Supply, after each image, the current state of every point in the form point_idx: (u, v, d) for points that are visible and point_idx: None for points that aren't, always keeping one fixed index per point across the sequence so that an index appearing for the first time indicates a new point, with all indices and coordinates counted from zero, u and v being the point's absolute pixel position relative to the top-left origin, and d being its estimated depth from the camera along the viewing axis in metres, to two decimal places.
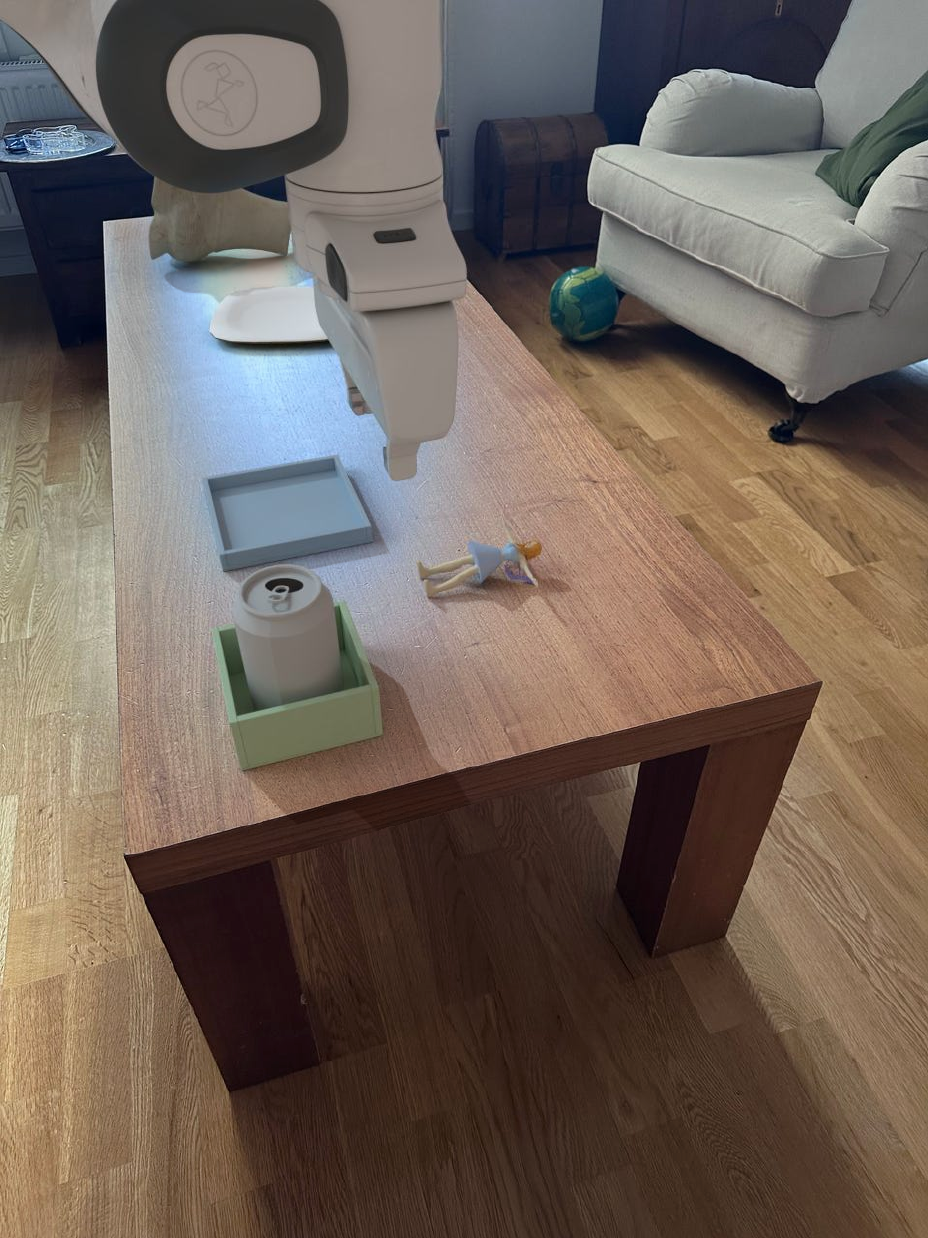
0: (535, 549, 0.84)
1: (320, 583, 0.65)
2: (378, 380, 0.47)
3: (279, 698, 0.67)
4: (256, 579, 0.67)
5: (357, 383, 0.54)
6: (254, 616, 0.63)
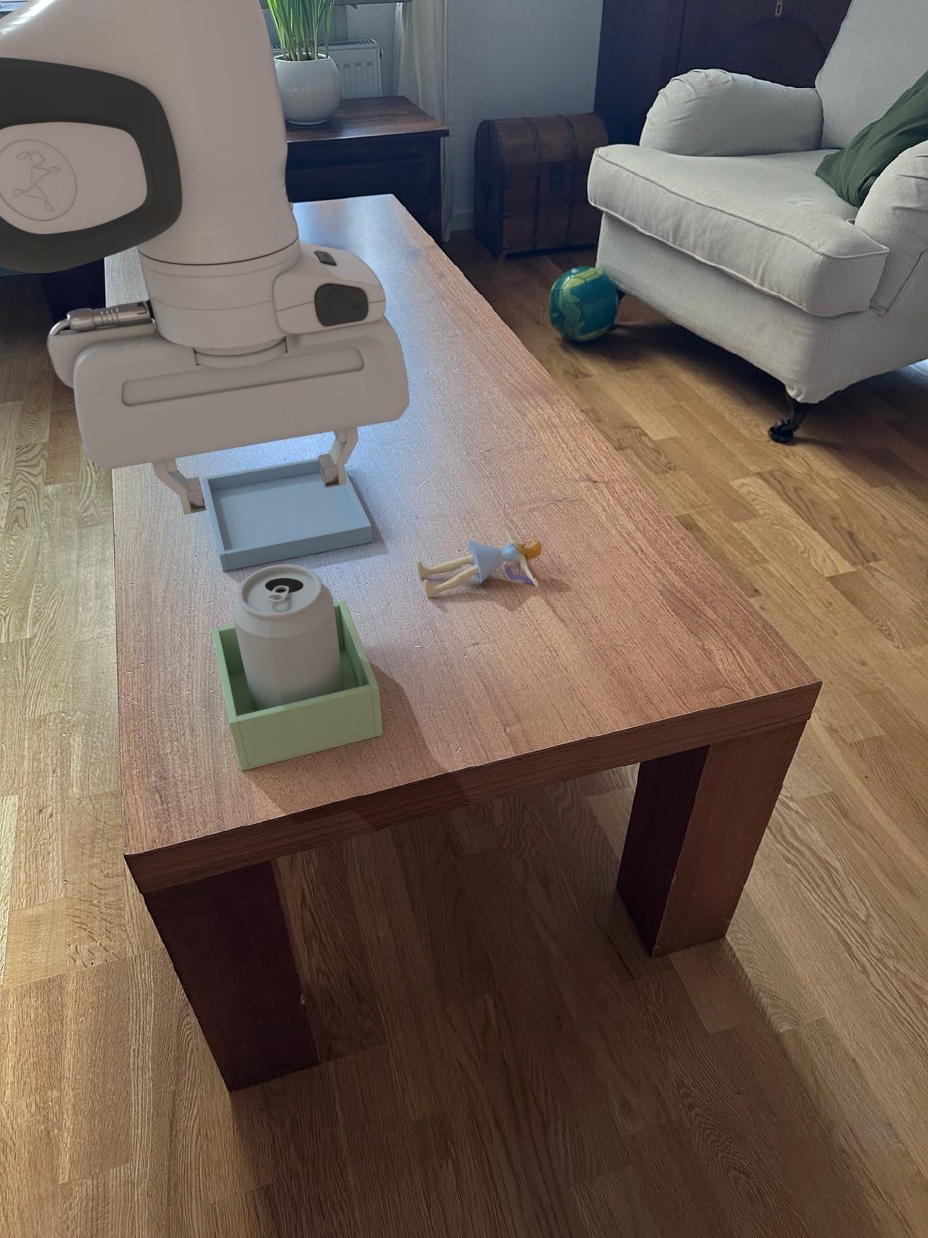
0: (535, 549, 0.84)
1: (320, 583, 0.65)
2: (398, 365, 0.55)
3: (279, 698, 0.67)
4: (256, 579, 0.67)
5: (293, 429, 0.56)
6: (254, 616, 0.63)
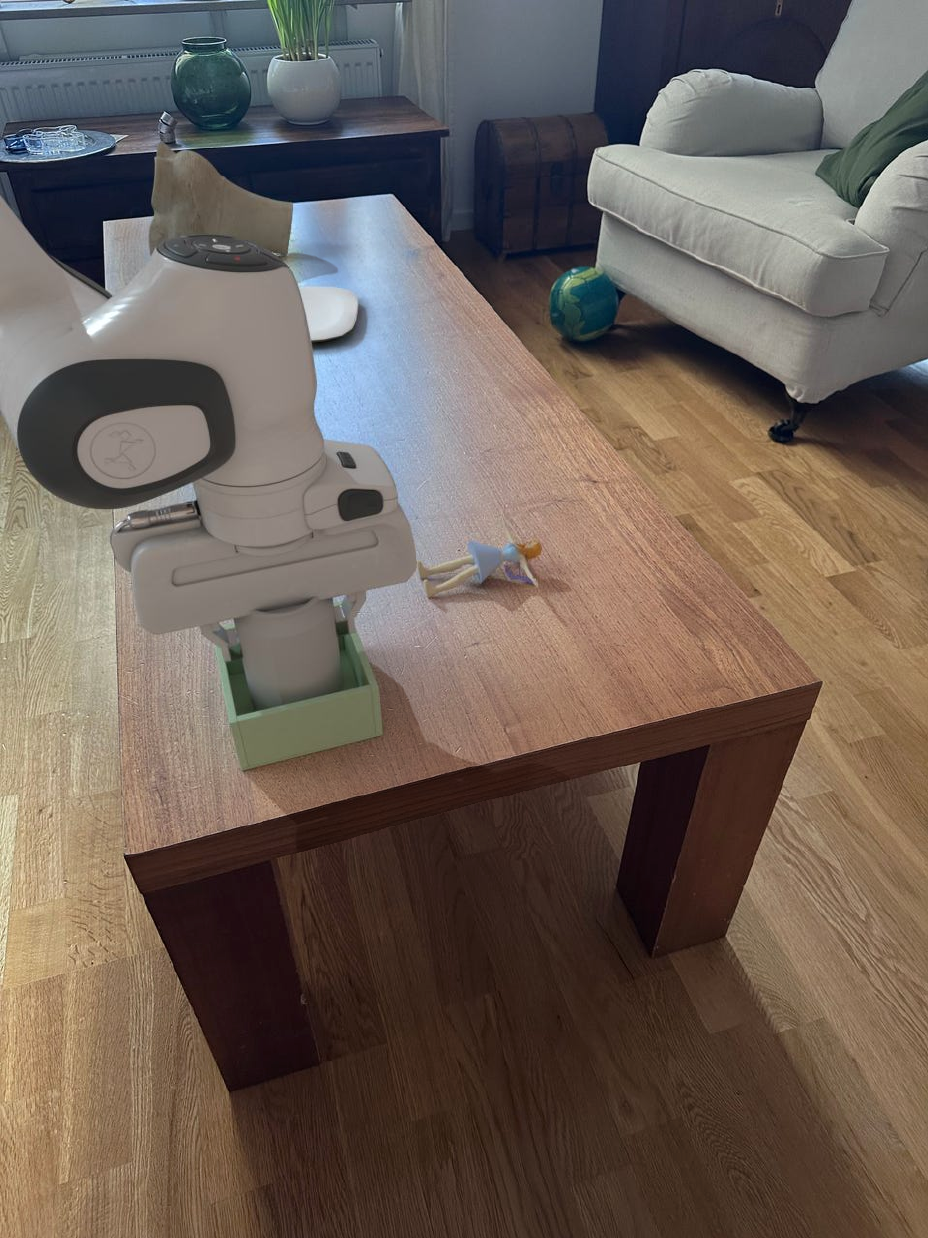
0: (535, 549, 0.84)
1: None
2: (408, 542, 0.63)
3: (279, 698, 0.67)
4: None
5: (317, 595, 0.64)
6: (254, 616, 0.63)
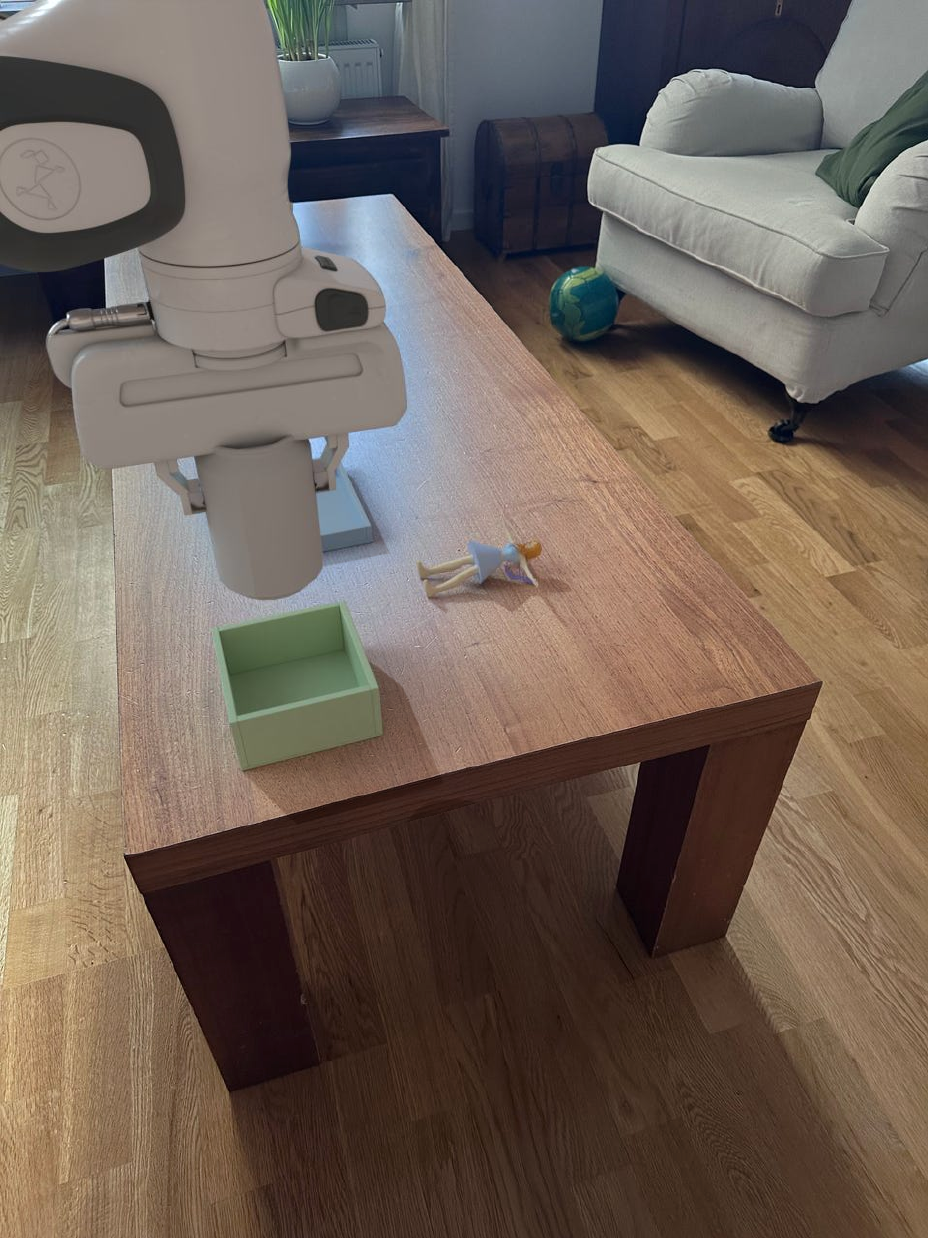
0: (535, 550, 0.84)
1: None
2: (397, 371, 0.55)
3: (247, 558, 0.58)
4: None
5: (291, 432, 0.56)
6: (218, 454, 0.55)
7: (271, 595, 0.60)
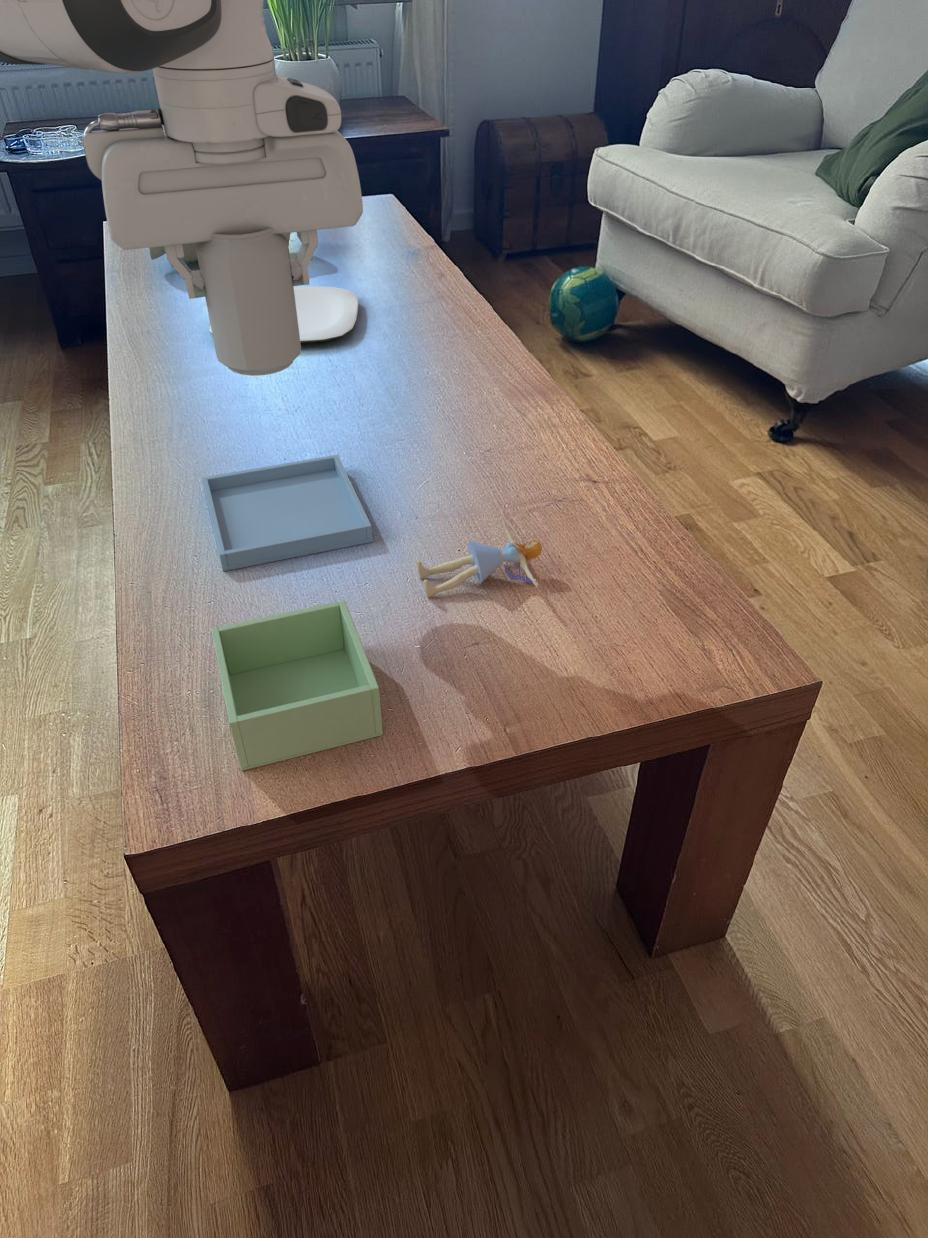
0: (535, 549, 0.84)
1: None
2: (353, 174, 0.70)
3: (239, 333, 0.74)
4: None
5: (271, 225, 0.71)
6: (215, 240, 0.70)
7: (258, 368, 0.76)
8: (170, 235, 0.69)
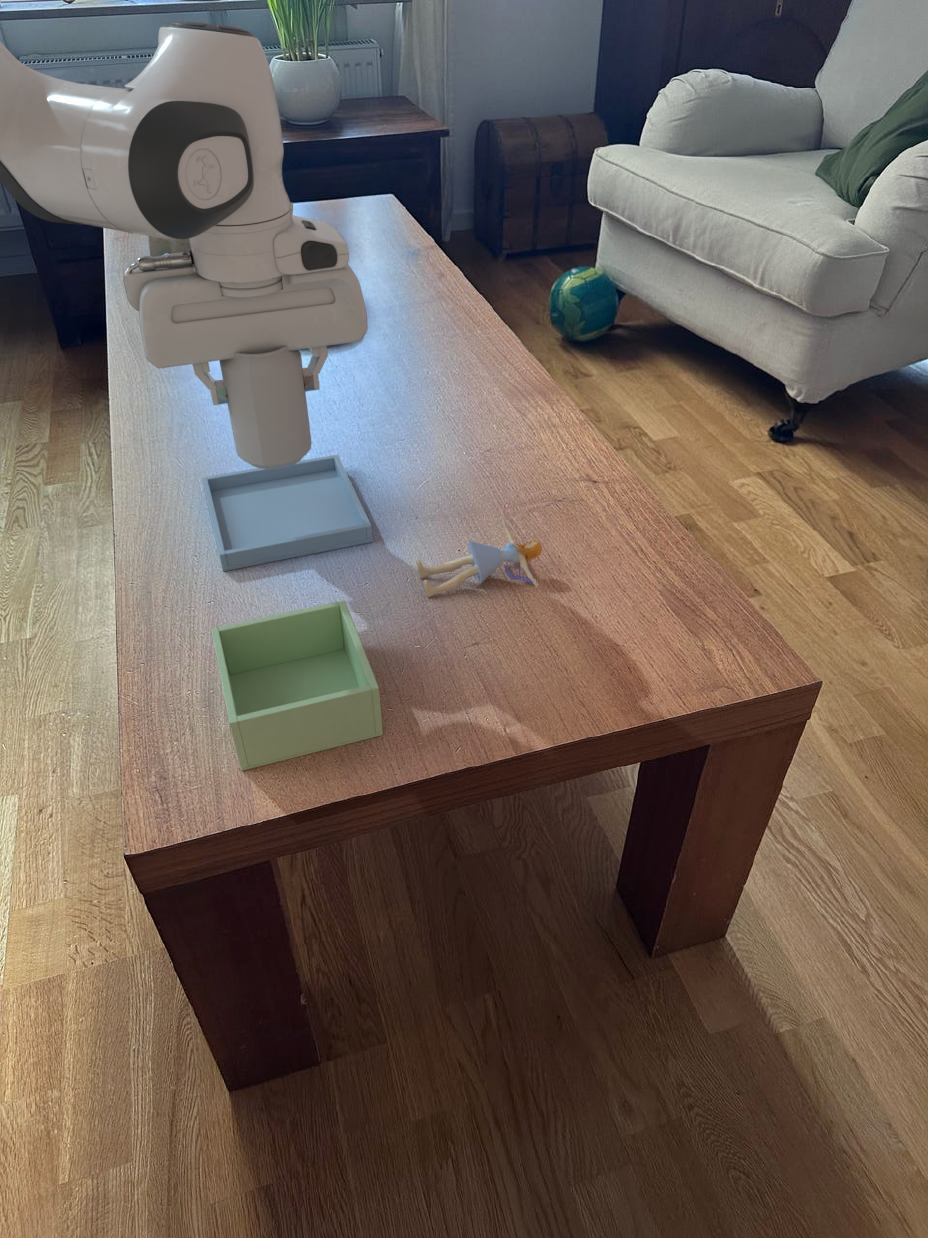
0: (535, 550, 0.84)
1: None
2: (359, 300, 0.80)
3: (257, 435, 0.84)
4: None
5: (286, 344, 0.81)
6: (237, 358, 0.80)
7: (274, 464, 0.86)
8: (198, 355, 0.79)
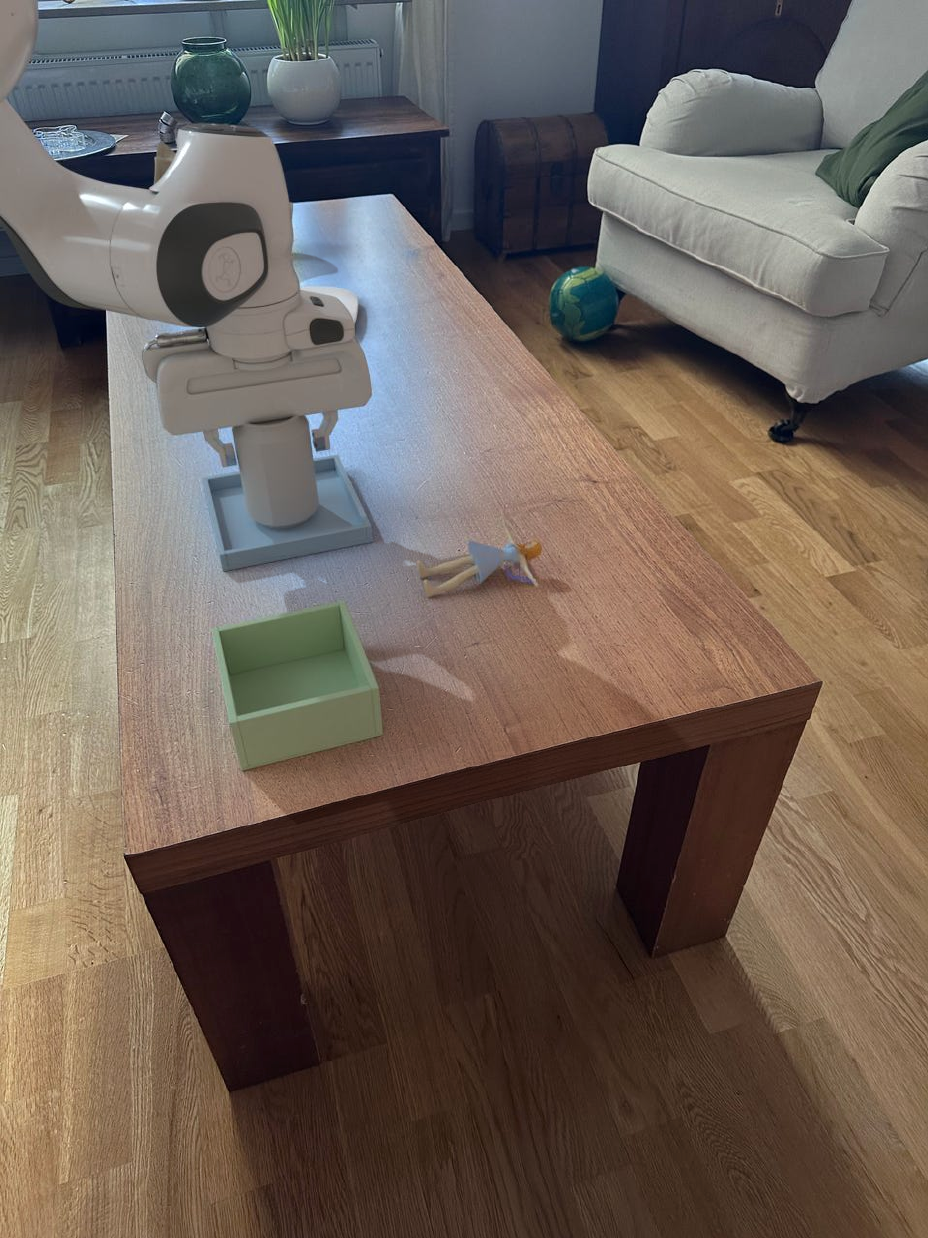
0: (535, 550, 0.84)
1: None
2: (364, 369, 0.84)
3: (267, 499, 0.88)
4: None
5: (295, 410, 0.85)
6: (248, 428, 0.84)
7: (283, 524, 0.90)
8: (212, 423, 0.83)
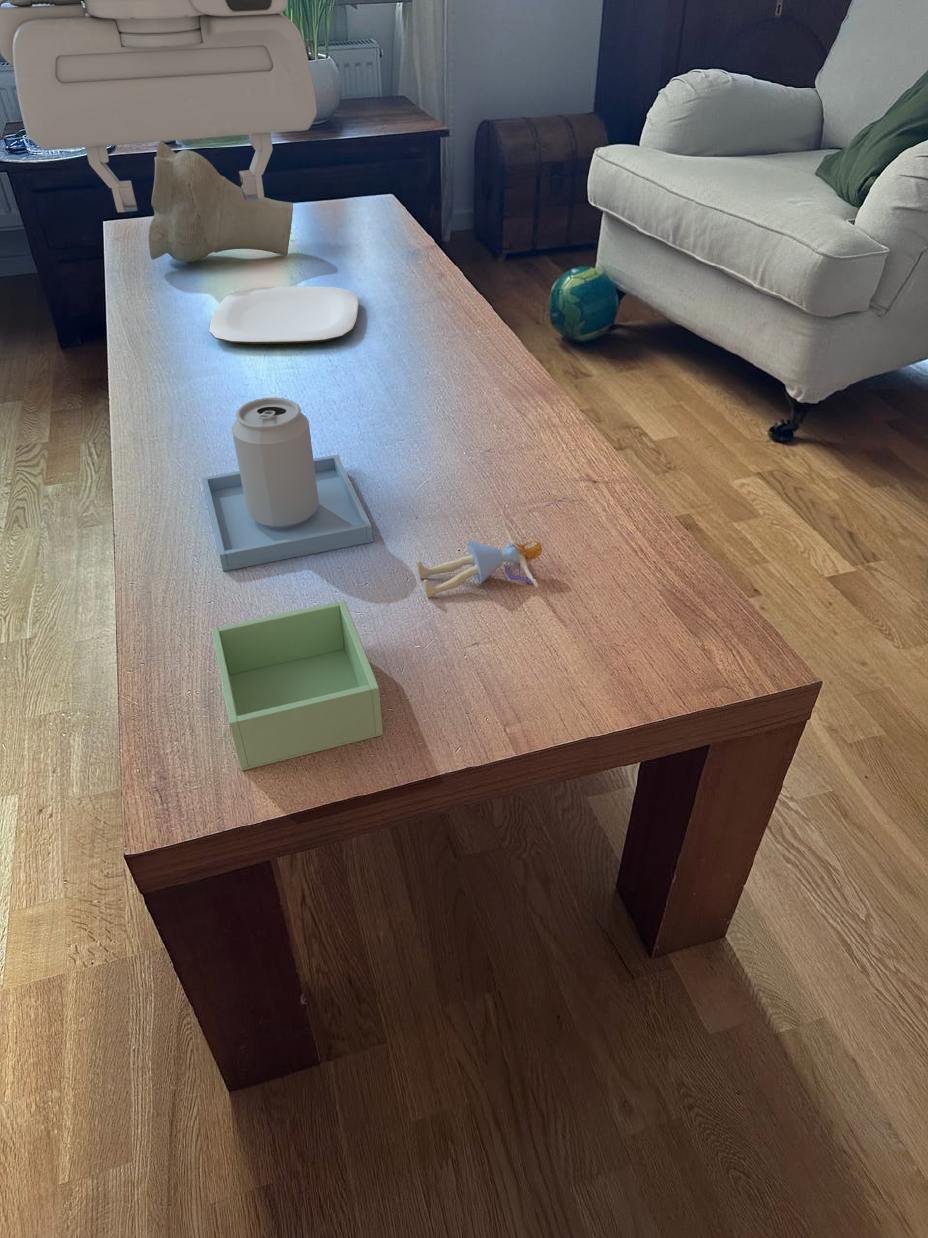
0: (535, 550, 0.84)
1: (298, 408, 0.86)
2: (304, 67, 0.62)
3: (267, 499, 0.88)
4: (250, 407, 0.87)
5: (212, 125, 0.63)
6: (248, 428, 0.84)
7: (283, 524, 0.90)
8: (95, 133, 0.61)
